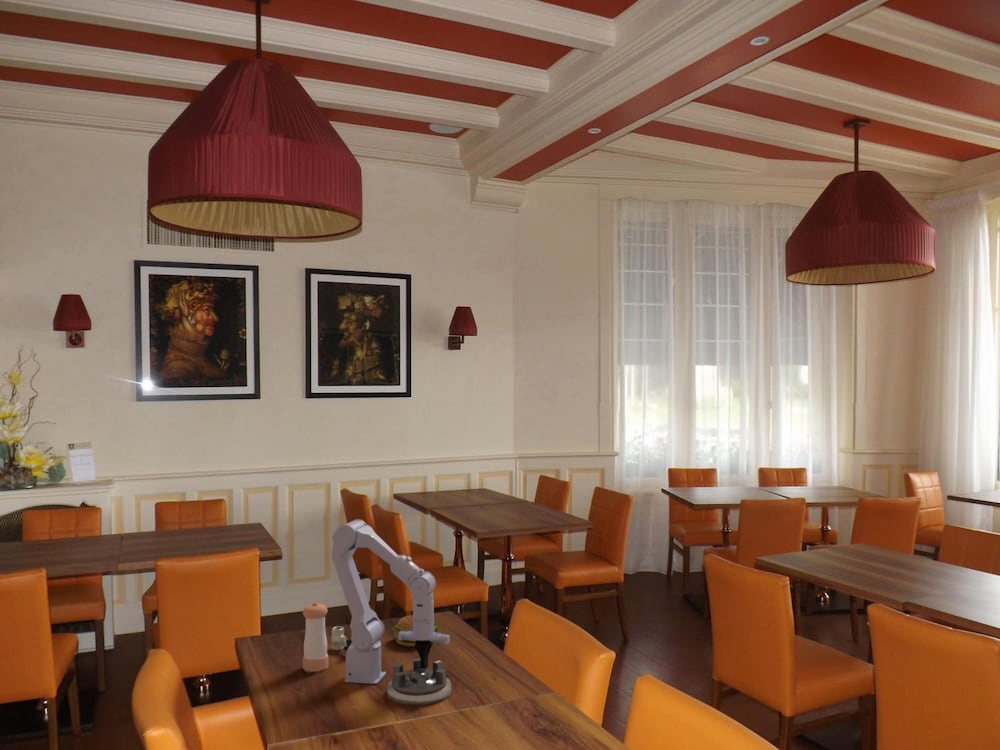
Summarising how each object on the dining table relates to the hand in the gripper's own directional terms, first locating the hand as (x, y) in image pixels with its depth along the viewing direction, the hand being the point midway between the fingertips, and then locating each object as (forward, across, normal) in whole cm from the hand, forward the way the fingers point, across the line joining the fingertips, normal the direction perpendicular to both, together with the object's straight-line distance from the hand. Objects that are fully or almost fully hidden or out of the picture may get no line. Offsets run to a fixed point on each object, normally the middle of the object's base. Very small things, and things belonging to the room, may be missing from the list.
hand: (424, 667), depth 211 cm
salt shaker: (+4, +35, -2) cm, 36 cm away
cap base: (+4, -1, +6) cm, 8 cm away
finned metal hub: (+2, -1, +6) cm, 6 cm away
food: (+5, +16, -31) cm, 36 cm away
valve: (+4, +34, -16) cm, 38 cm away
